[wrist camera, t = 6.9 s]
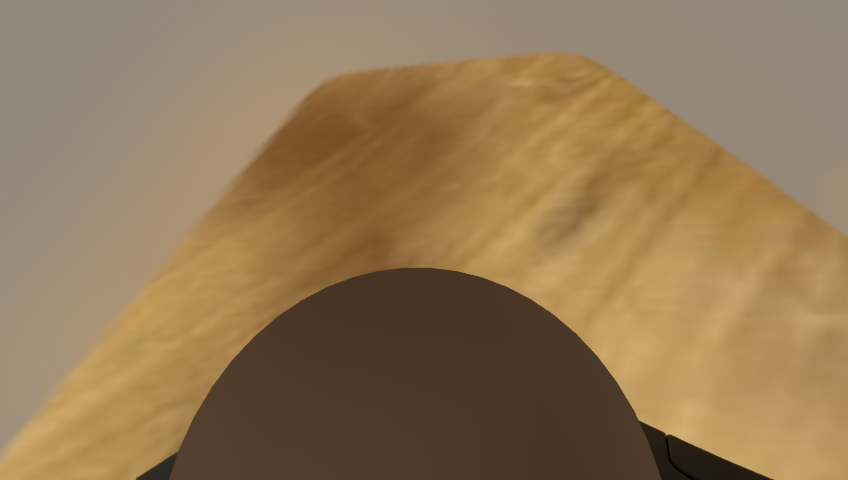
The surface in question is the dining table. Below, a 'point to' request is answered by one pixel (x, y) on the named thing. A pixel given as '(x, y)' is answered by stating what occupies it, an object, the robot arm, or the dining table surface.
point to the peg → (416, 392)
